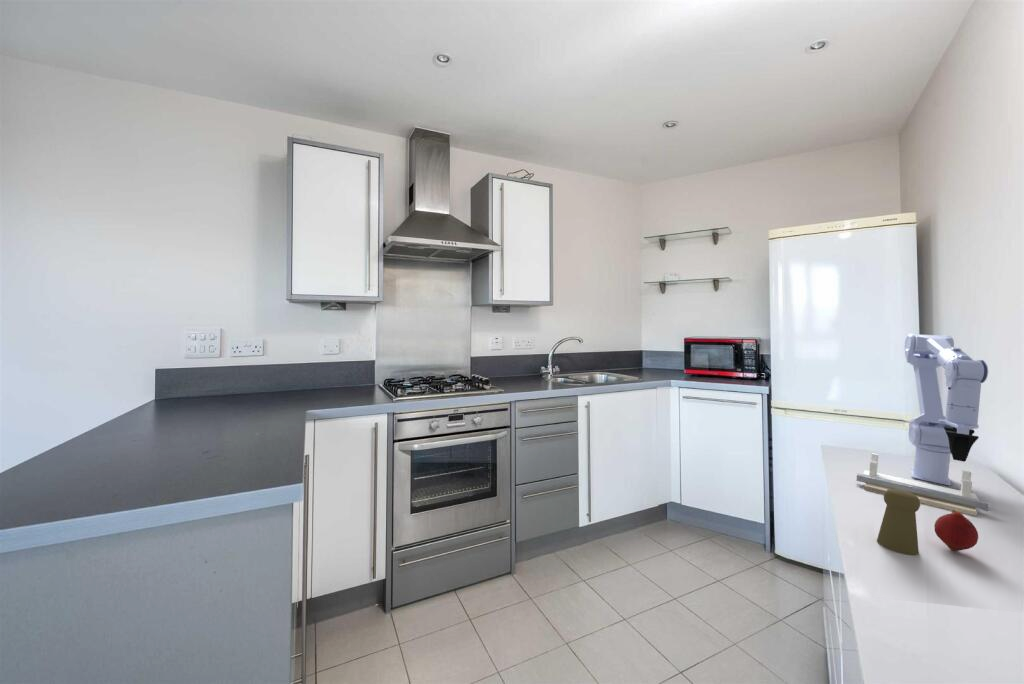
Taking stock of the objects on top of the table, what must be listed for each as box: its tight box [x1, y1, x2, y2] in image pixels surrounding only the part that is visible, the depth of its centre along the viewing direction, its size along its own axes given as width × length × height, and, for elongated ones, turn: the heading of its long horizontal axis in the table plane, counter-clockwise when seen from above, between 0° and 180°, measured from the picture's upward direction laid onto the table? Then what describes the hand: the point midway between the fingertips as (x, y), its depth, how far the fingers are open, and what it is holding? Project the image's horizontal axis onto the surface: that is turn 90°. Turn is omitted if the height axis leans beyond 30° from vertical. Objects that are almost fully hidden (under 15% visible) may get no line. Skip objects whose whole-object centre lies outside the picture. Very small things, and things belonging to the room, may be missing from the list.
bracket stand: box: [862, 452, 979, 500], centre depth 113 cm, size 5×22×7 cm, turn 46°
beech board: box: [864, 483, 978, 517], centre depth 107 cm, size 8×20×1 cm, turn 46°
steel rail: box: [856, 473, 989, 512], centre depth 107 cm, size 2×24×2 cm, turn 46°
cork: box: [876, 489, 921, 556], centre depth 81 cm, size 6×6×11 cm
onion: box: [934, 509, 979, 552], centre depth 81 cm, size 6×6×8 cm
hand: (957, 457), depth 108 cm, fingers open, 7 cm apart
